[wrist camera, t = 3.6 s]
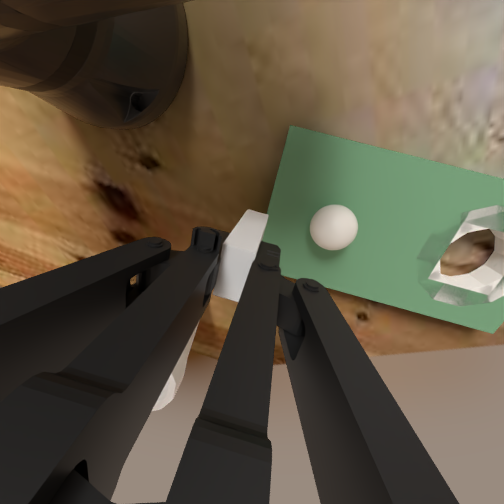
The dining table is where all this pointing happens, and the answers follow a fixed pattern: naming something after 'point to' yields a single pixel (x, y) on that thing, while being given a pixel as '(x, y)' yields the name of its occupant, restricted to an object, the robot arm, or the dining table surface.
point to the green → (389, 226)
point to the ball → (333, 227)
